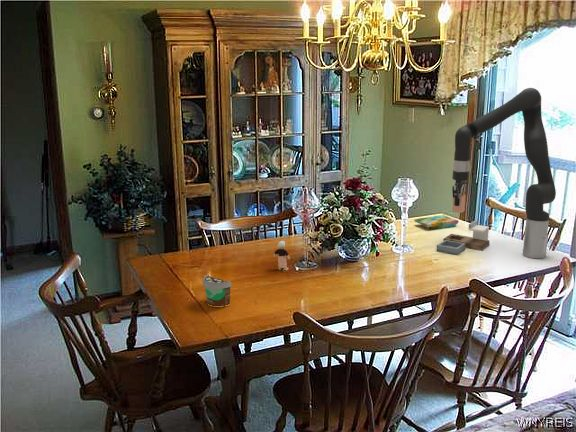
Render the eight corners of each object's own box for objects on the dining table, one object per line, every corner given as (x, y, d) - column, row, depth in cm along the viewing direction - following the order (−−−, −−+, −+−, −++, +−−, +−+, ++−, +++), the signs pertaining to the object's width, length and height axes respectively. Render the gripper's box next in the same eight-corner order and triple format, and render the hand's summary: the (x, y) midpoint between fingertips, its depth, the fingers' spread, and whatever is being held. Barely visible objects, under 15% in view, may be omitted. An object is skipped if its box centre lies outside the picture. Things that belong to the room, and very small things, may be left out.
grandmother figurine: (291, 268, 239) (291, 240, 236) (289, 271, 236) (289, 243, 232) (274, 266, 241) (274, 239, 238) (272, 269, 238) (271, 241, 234)
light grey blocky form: (487, 240, 266) (489, 222, 263) (482, 244, 260) (483, 226, 257) (473, 237, 270) (474, 220, 267) (467, 241, 264) (468, 224, 261)
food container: (196, 303, 204) (195, 278, 202) (208, 298, 209) (207, 273, 206) (220, 312, 197) (219, 286, 194) (232, 306, 202) (231, 280, 199)
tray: (465, 249, 261) (465, 243, 260) (457, 255, 253) (457, 249, 253) (444, 245, 267) (445, 239, 266) (436, 251, 259) (436, 245, 258)
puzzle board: (489, 245, 267) (489, 240, 266) (482, 250, 259) (482, 245, 259) (451, 238, 278) (451, 233, 277) (443, 243, 270) (443, 238, 270)
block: (464, 211, 268) (465, 194, 266) (461, 213, 264) (462, 196, 262) (455, 209, 270) (456, 193, 268) (451, 211, 267) (453, 195, 265)
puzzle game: (458, 218, 297) (427, 223, 290) (457, 227, 298) (427, 231, 291) (444, 213, 308) (414, 217, 300) (444, 221, 309) (414, 226, 301)
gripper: (459, 166, 270) (456, 200, 274) (447, 171, 259) (445, 206, 263) (474, 168, 265) (471, 202, 270) (463, 172, 254) (460, 208, 259)
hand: (458, 204), depth 266 cm, fingers closed on block, 4 cm apart
